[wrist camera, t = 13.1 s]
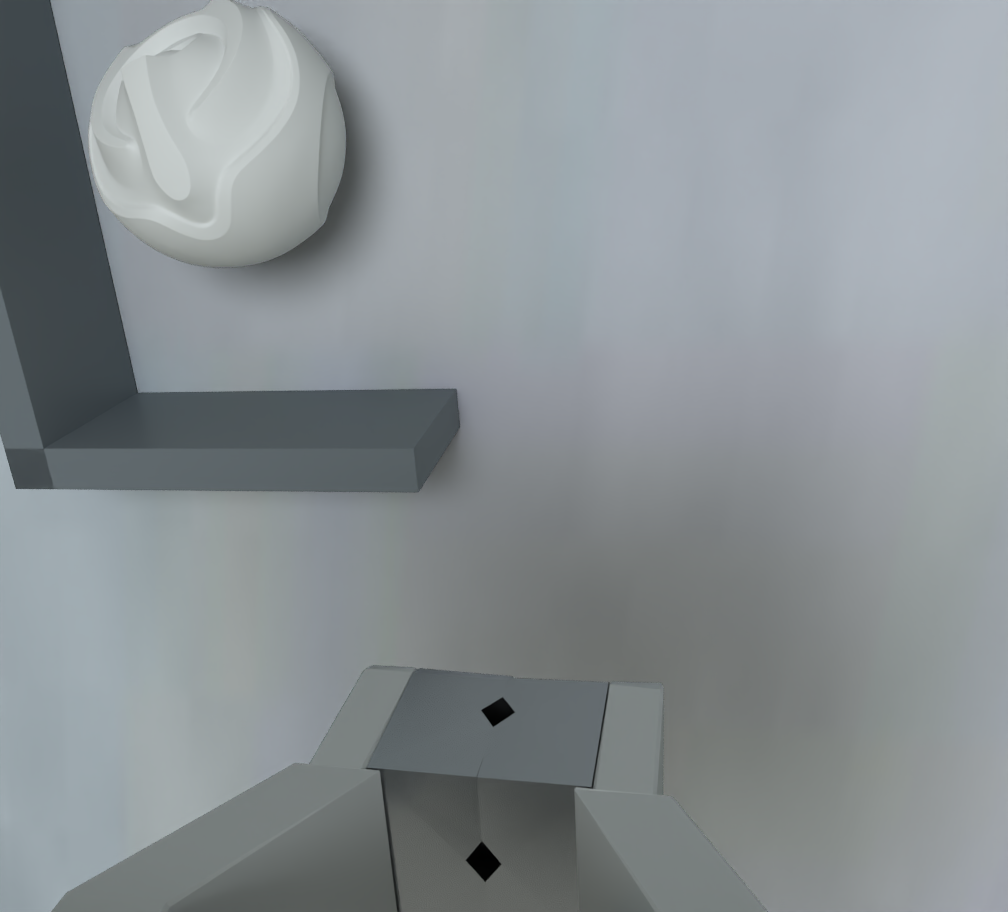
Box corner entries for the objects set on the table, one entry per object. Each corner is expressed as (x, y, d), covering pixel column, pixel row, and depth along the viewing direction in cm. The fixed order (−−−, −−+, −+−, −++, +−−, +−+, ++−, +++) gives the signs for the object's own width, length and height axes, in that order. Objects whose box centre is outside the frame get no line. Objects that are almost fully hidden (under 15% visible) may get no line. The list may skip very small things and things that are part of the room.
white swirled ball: (321, -34, 30) (210, -63, 23) (420, 192, 33) (346, 226, 26) (126, 74, 33) (-27, 76, 26) (231, 277, 35) (115, 330, 28)
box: (397, -244, 28) (326, -318, 22) (459, 427, 36) (418, 492, 30) (-34, -181, 31) (-191, -235, 25) (111, 428, 38) (15, 488, 33)
